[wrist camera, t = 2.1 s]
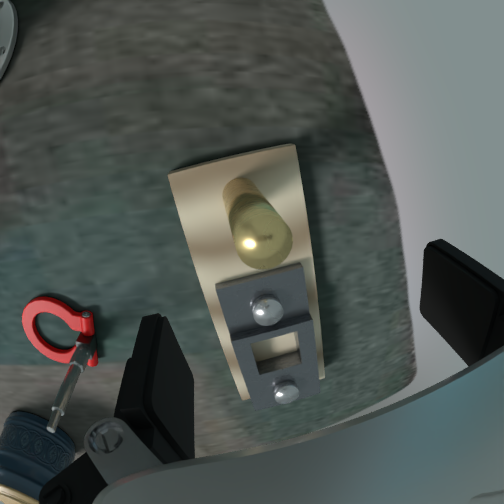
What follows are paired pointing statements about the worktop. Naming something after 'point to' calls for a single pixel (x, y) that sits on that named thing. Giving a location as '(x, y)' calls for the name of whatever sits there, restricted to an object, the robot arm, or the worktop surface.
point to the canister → (30, 457)
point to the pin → (255, 225)
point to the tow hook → (75, 356)
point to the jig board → (222, 244)
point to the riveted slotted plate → (272, 333)
